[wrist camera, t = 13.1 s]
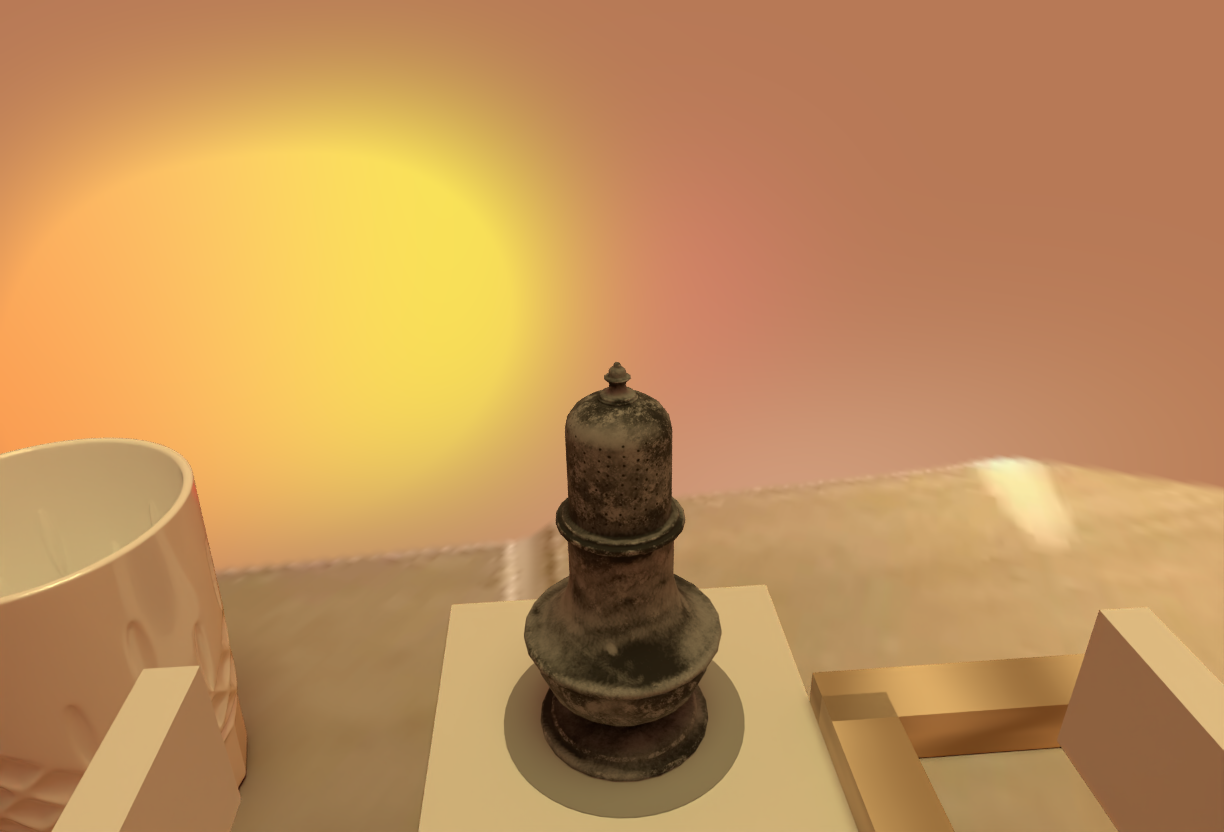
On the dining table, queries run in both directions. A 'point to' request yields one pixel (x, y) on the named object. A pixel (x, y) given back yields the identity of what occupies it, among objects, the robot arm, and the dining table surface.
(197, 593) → the white cup
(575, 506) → the salt shaker
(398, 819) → the dining table surface
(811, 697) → the block
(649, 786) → the cream square board
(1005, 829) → the dining table surface
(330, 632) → the dining table surface
